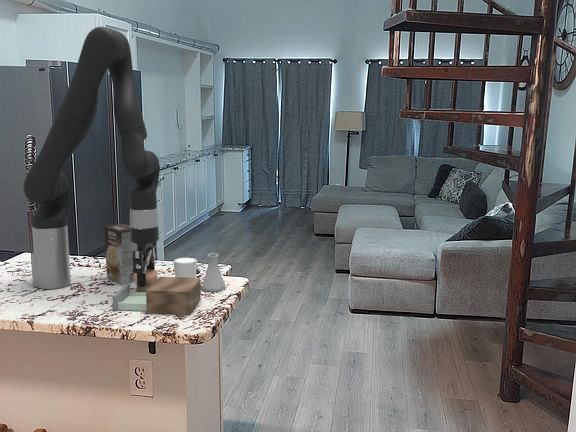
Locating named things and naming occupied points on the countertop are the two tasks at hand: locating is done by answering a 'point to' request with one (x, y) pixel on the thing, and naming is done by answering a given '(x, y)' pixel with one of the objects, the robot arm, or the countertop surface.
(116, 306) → the tray
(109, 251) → the coffee box
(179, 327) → the countertop surface
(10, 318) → the countertop surface
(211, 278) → the flask
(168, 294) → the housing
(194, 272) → the white cup
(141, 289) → the olive brown cube
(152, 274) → the coaster
